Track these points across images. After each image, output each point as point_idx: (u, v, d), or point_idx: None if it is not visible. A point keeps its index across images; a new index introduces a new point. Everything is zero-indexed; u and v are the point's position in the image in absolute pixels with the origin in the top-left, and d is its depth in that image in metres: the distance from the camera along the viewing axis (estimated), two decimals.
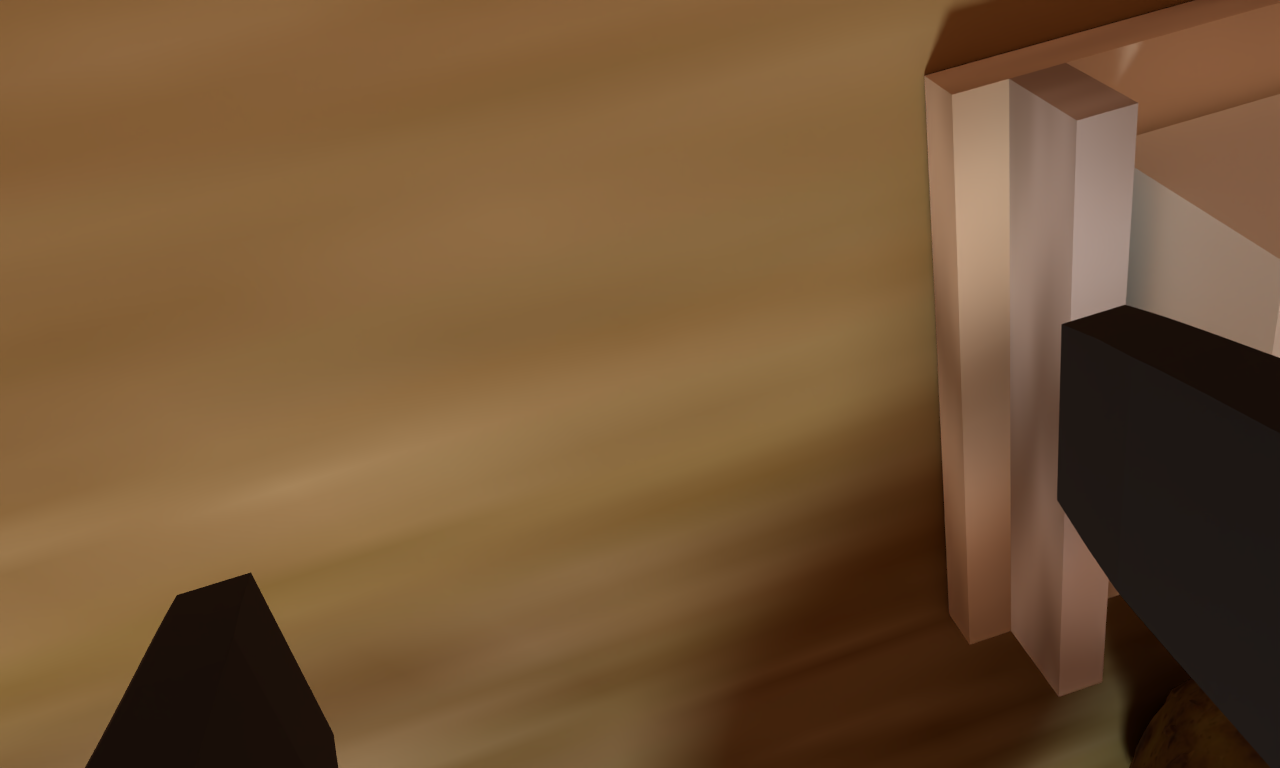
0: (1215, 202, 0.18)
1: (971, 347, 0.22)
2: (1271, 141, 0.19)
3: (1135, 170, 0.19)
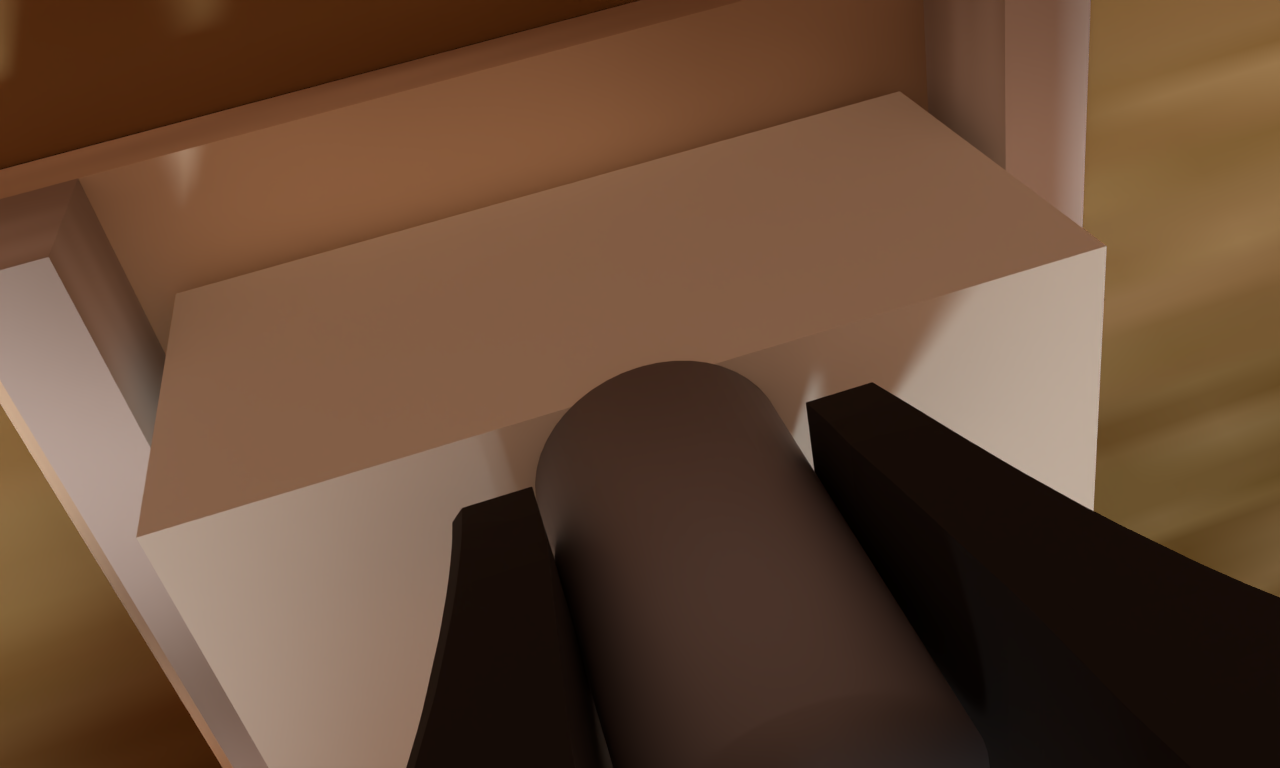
0: (184, 408, 0.12)
1: None
2: (364, 296, 0.13)
3: (169, 339, 0.13)
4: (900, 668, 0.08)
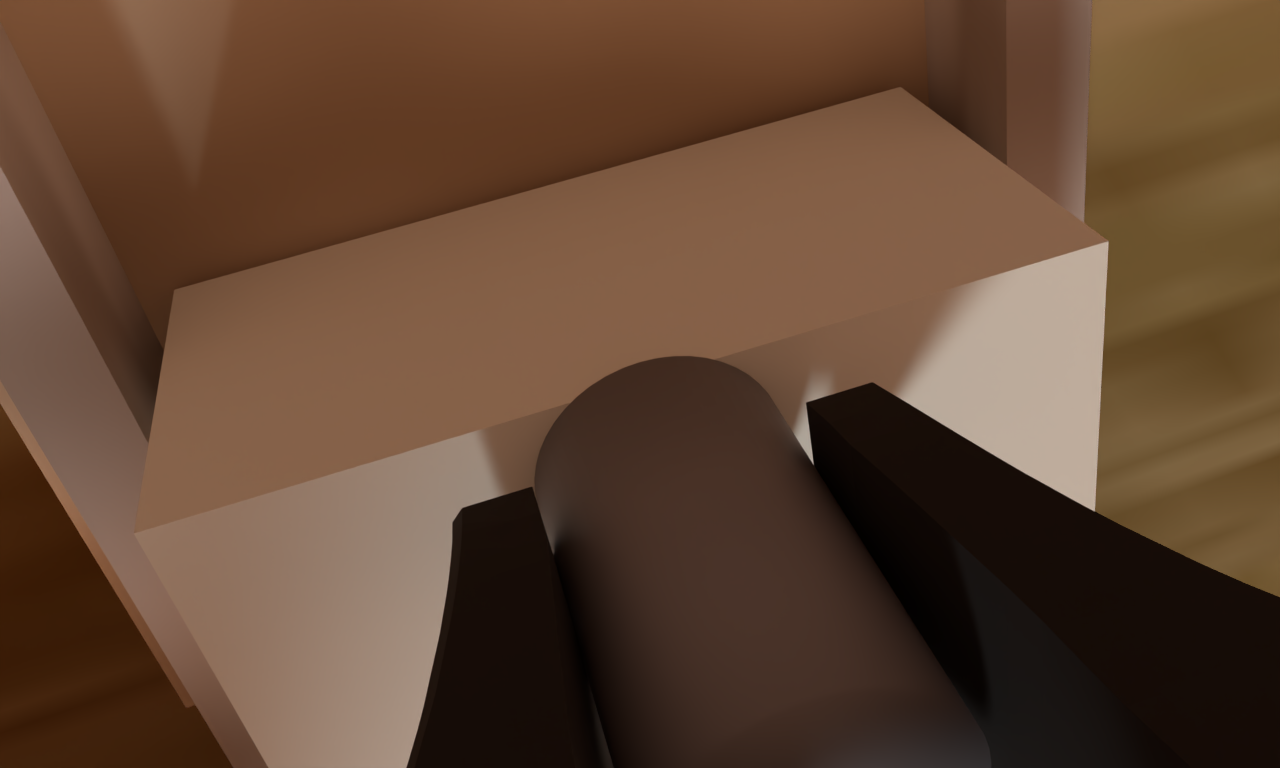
0: (182, 404, 0.12)
1: None
2: (362, 293, 0.13)
3: (167, 335, 0.13)
4: (901, 664, 0.07)
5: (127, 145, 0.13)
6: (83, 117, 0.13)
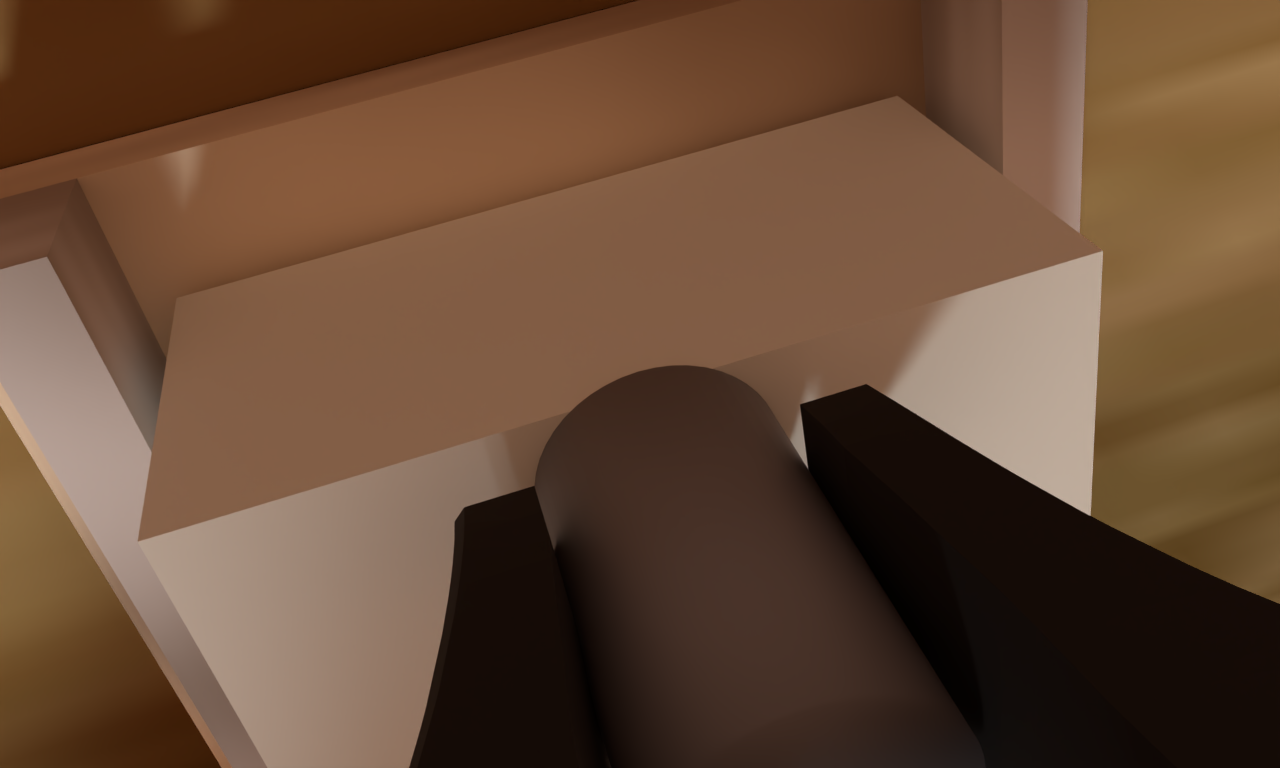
0: (184, 413, 0.12)
1: None
2: (365, 301, 0.13)
3: (170, 343, 0.13)
4: (896, 672, 0.08)
5: None
6: None
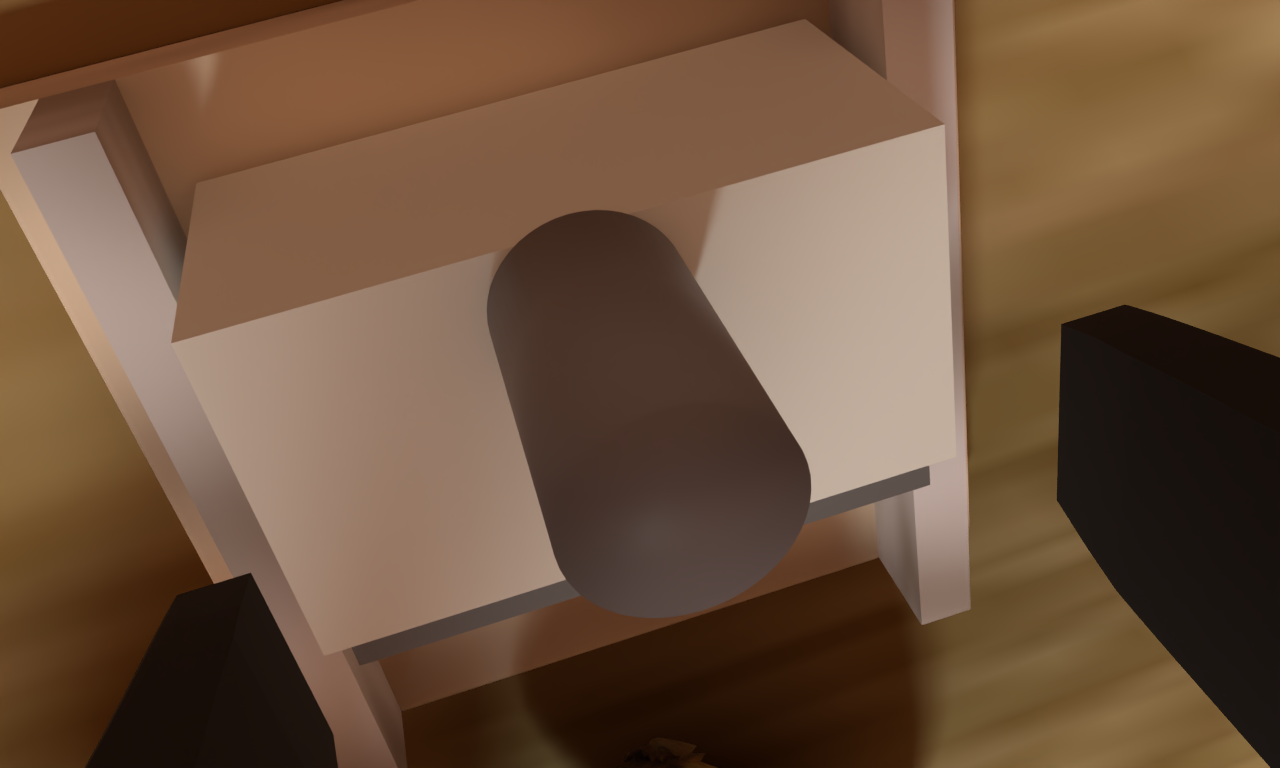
0: (205, 259, 0.14)
1: (138, 415, 0.18)
2: (352, 180, 0.16)
3: (192, 215, 0.16)
4: (738, 393, 0.10)
5: None
6: None
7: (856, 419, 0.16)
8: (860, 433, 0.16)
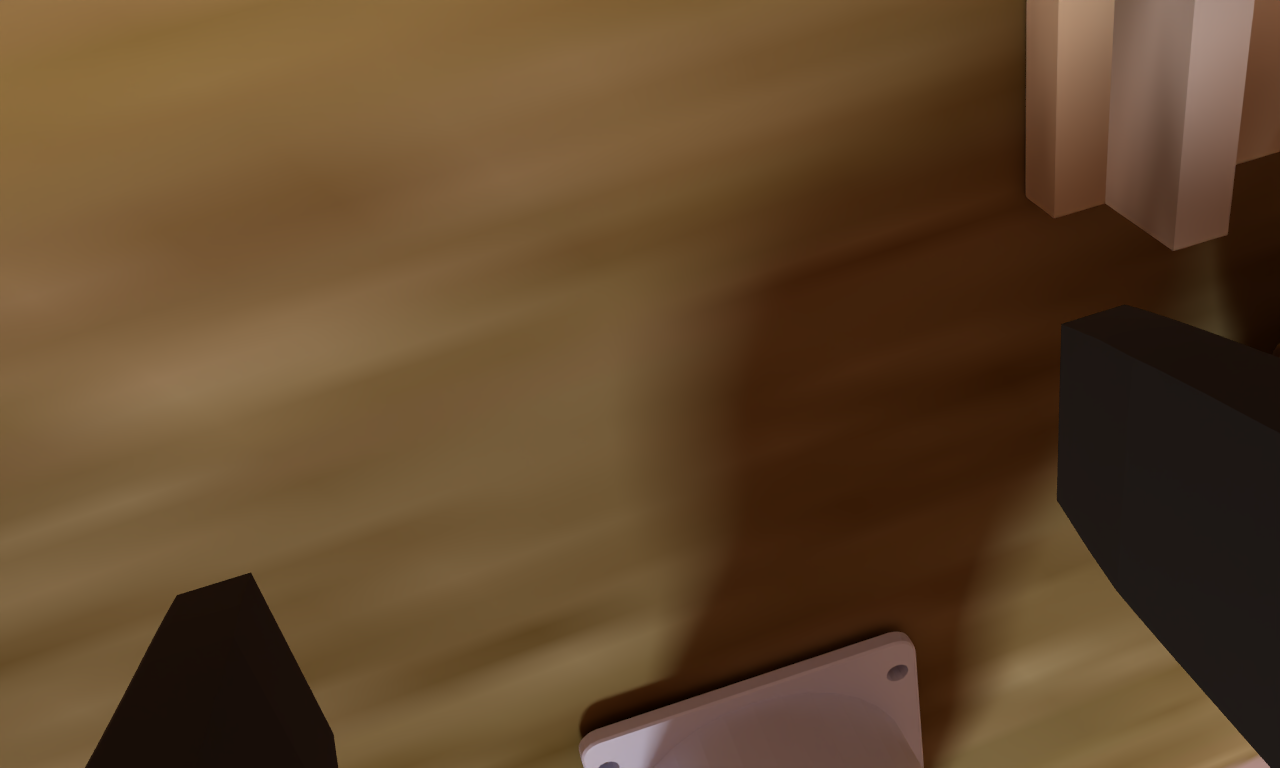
0: None
1: None
2: None
3: None
4: None
5: None
6: None
7: None
8: None
